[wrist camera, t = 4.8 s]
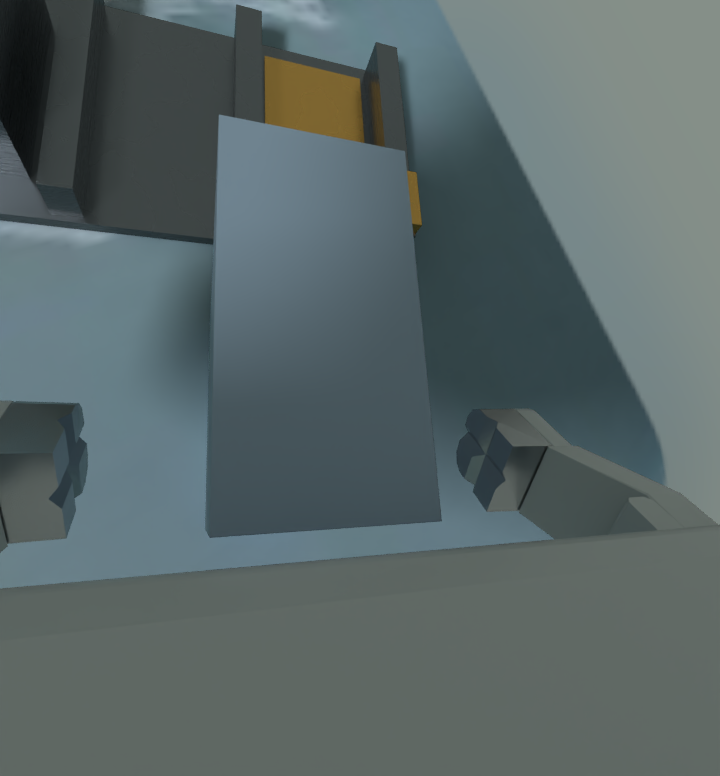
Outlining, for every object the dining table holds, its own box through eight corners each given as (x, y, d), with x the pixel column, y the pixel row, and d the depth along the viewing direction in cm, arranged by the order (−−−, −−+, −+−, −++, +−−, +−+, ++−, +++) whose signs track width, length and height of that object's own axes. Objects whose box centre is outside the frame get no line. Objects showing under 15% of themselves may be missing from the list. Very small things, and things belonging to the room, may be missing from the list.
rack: (397, 265, 21) (444, 202, 17) (-169, 200, 15) (-310, 78, 11) (381, 82, 23) (419, -11, 19) (-107, -36, 17) (-201, -207, 13)
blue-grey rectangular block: (309, 521, 17) (442, 521, 7) (204, 528, 16) (209, 537, 6) (303, 335, 18) (404, 151, 9) (209, 330, 17) (218, 114, 8)
